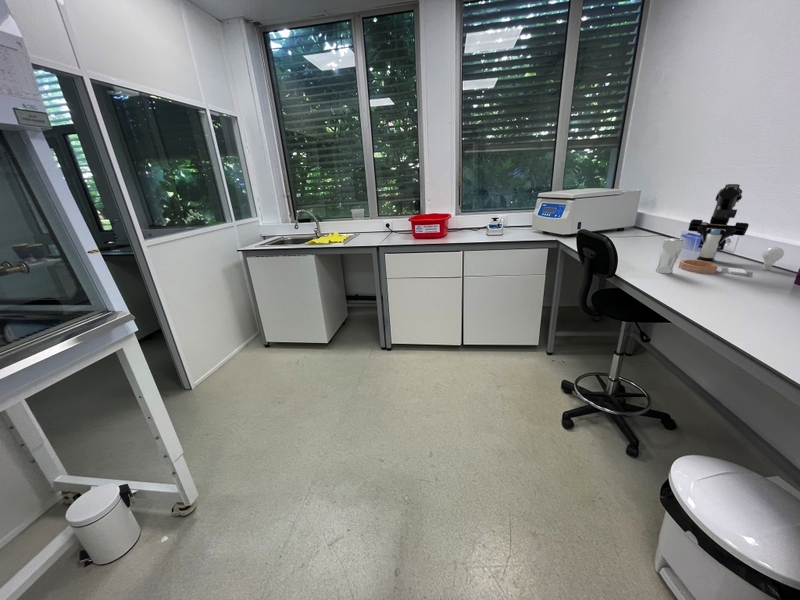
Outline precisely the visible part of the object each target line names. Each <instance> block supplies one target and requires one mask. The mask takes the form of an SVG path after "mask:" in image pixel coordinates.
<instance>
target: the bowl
mask: <svg viewBox="0 0 800 600" xmlns="http://www.w3.org/2000/svg"><path fill="white" fill-rule="evenodd" d="M718 267H719V265H718V264H716V263H714V262H710V261H703V260H697V259H681V260H680V261H679V265H678V269H679V268H680V269H681V270H683V271H686V272H691V273H697V274H698V273H699V274H715V273H716V272H717V270H718Z"/></svg>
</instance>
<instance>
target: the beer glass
mask: <svg viewBox="0 0 800 600" xmlns="http://www.w3.org/2000/svg"><path fill="white" fill-rule="evenodd" d="M683 245H684V239H681V238H676V237H674V238H673V237H665V238H664V240H663V242H662V244H661V248H660V252H659V261H658V265H657V266H656V268H655V272H656V273H659V274H663V273H664V275H665V274H666V275H672V274H673V270H674V266H675V263H676V261H677V259H679V256H680V254H681V251H682V249H683ZM671 273H672V274H671Z"/></svg>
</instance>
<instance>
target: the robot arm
mask: <svg viewBox="0 0 800 600" xmlns="http://www.w3.org/2000/svg"><path fill="white" fill-rule="evenodd" d="M740 186H741V185H740V184H738V183H727V184H725V186H724V187H723V188H721V189H720V190H719V191H718V192H717V194H716V196H715V199H714V200H715V202H716V204H715V208H714V211H713V213H712V216H711V218H710V219H709V223H708V221H703V220H704V219H694V218H693V219H691V220H690V222H689V225H688V226H689V227H688V230H687V231H689V232H697V234H700V237H701V239H700V242H699V245H698V249H700V248H701V249H700V252H699V256H697V258H696V260H699V261H706V262H710V263H714V262H715V256H716V254H717V252H718V251H723V250H724V248H725V245H726V243H727V240H726V239H728V238H729V237H733V236H741V237H742V236H745V234H746V233H747V231H748V229H749V226H750V224H749V223H748V222H738V221H737V222H735V225H730V224H729V221H730V219H735V218H736V214H737V212H738V209H734V208H735V206H736V204H737V203H739V202H740V200H741V199H743V195H742V194H743V190H742V189H741V188H740ZM728 224H729V225H728ZM712 229H717V230H721V231H720V235H722V236H721V239H720V242H719V245H718V247H717V250H716V253H715V255H714V258H705V257H700V253H701V250H702V247H703V244H704V241H705V239H706V236H707V234H709V233H710V232H711V230H712Z"/></svg>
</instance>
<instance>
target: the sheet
mask: <svg viewBox="0 0 800 600" xmlns="http://www.w3.org/2000/svg"><path fill="white" fill-rule="evenodd" d="M727 269H728V271H729V272H730V274H729V275H732V274H738V275H747V273H746V270H745V269H743V268H737V267H728V268H727ZM738 275H737V276H738Z"/></svg>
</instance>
